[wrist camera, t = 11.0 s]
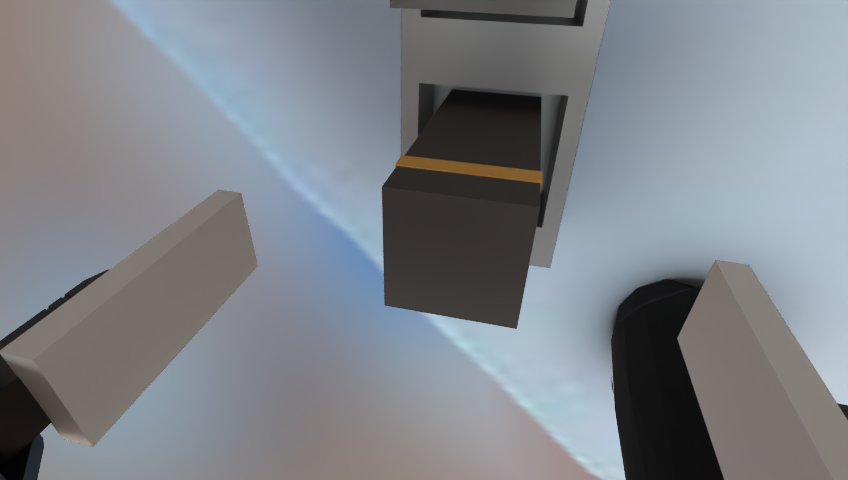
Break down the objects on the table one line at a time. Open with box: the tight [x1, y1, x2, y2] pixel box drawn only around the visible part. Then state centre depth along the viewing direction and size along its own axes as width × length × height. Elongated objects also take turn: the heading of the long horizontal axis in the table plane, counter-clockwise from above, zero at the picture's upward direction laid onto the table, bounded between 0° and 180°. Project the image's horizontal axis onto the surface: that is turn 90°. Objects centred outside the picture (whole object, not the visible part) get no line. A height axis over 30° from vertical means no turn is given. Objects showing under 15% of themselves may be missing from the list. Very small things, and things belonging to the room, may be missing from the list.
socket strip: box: [390, 0, 611, 268], centre depth 17 cm, size 20×8×12 cm, turn 178°
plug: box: [382, 89, 543, 329], centre depth 19 cm, size 5×5×12 cm
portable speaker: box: [611, 279, 724, 480], centre depth 20 cm, size 9×9×20 cm
